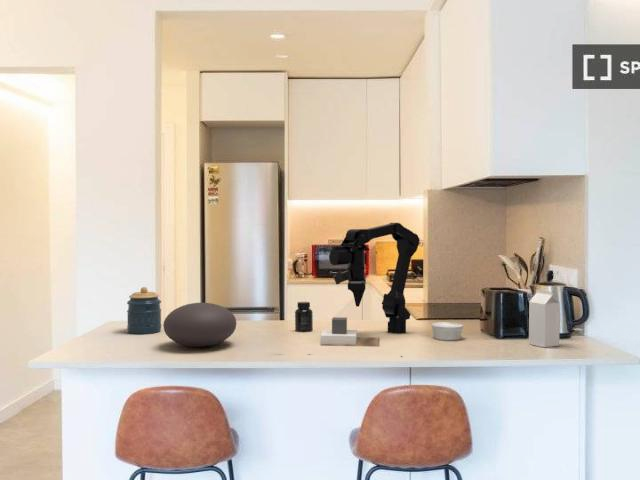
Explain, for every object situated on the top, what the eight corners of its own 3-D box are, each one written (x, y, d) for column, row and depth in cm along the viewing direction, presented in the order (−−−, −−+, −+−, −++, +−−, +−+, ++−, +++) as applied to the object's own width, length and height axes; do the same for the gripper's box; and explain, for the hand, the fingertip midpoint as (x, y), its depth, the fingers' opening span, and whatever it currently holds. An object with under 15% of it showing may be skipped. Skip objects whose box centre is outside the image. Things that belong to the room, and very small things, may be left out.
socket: (357, 338, 217) (357, 329, 217) (355, 344, 205) (355, 336, 205) (323, 337, 218) (323, 329, 218) (320, 344, 206) (320, 335, 206)
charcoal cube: (347, 336, 214) (346, 317, 214) (346, 339, 209) (346, 319, 209) (332, 336, 214) (332, 317, 214) (331, 339, 209) (331, 319, 209)
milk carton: (544, 348, 204) (545, 292, 204) (528, 344, 210) (529, 290, 210) (559, 346, 207) (560, 291, 207) (543, 342, 214) (543, 289, 213)
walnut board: (379, 340, 218) (379, 337, 218) (379, 349, 202) (379, 346, 202) (324, 339, 220) (324, 336, 220) (320, 348, 204) (320, 345, 204)
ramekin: (468, 338, 222) (468, 324, 222) (452, 342, 214) (452, 328, 214) (442, 334, 230) (442, 321, 230) (425, 338, 222) (425, 324, 221)
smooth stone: (158, 342, 215) (158, 300, 215) (226, 336, 225) (226, 297, 225) (169, 356, 193) (169, 309, 192) (245, 349, 203) (245, 305, 202)
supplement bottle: (315, 332, 234) (315, 301, 234) (308, 335, 228) (307, 303, 228) (299, 331, 237) (299, 300, 237) (291, 333, 231) (291, 302, 231)
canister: (120, 333, 233) (119, 287, 233) (141, 328, 245) (141, 284, 245) (147, 335, 228) (147, 289, 228) (168, 330, 240) (167, 286, 240)
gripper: (336, 262, 228) (336, 302, 229) (332, 266, 209) (333, 310, 210) (365, 261, 227) (366, 302, 228) (364, 265, 208) (365, 310, 209)
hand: (357, 306), depth 219 cm, fingers closed
